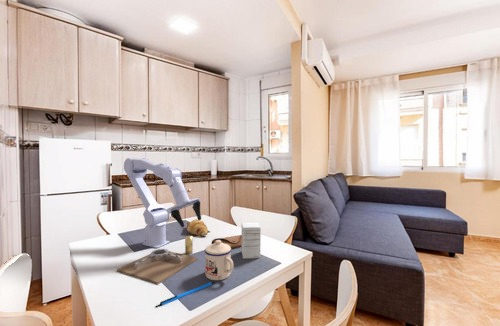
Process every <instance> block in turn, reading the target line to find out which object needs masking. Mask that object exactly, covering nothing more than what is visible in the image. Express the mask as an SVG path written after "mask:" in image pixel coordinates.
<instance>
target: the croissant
mask: <svg viewBox="0 0 500 326" xmlns="http://www.w3.org/2000/svg"><path fill="white" fill-rule="evenodd" d="M186 231H187V232H188V233H190V234H191V235H196V236H201V237H206V236H207V235H208V231H209V229H208V227H207V225H206V224H205V222H204V221H203V220H202V219H201V220H198V218H196V219H193V220H191V221H189V222H187V223H186Z"/></svg>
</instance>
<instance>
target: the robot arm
mask: <svg viewBox="0 0 500 326" xmlns="http://www.w3.org/2000/svg"><path fill="white" fill-rule="evenodd" d="M123 170H124V172H125V174H126V175H127V177H128V178H129V181H130V183H131V185H132V186H133V188H134V190H135V191H136V194H137V196H138V198H139V199H140V201H141V202H142V204H143V207H144V208H145V209H144V211H143V214H142V216H143V218H144V223H145V224H146V226H145V227H144V230H143V243H142V245H143V246H147V247H151V248H155V249H159V248H160V247H162V246H165V245H167V244H170V241H169V240H167V238H166V237H167V235H166V233H167V230H166V229H167V227H166V225H167V224H168V221H169V220H170V216H171V217H172V218H173V219H174V220H175V221H176V222H177V223H178V224H179V225H180V228H184V227H185V222H184V220H183V218H182V215H181V213H180V210H182V209H185V208H188V207H191V206H192V209H193V212H194V213H195V216H196V219H197V220H201V221H202V215H201V202H202V200H201V198H200V197H195V198H192V199H190V198H189V195H188V193H187V190H186V188H185V186H184V183H183V180H182V178H183V173H182V171H181V170H180V169H179V168H172V166H167V165H165V163H162V162H160V163H154V162H153V161H150V160H149V159H148V158H129V157H128V158H126V159H125V161H123ZM147 171H151V172H152V173H153V175H154V176H156V177H159V178H160V179H162V181H164V182H165V184H166V185H167V186H168V187H169V190H170V192H171V194H172V197H173V199H174V202H175V205H173V206H171V207H168V208H166V207H165V206H164V205H162V204H160V203H158V202H157V201H156V199H155V197H154V195H153V193H152V191H151V189H150V188H149V187H148V185H147V184H146V182H145V180H144V177H146V175H147Z"/></svg>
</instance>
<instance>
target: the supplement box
mask: <svg viewBox="0 0 500 326" xmlns="http://www.w3.org/2000/svg"><path fill="white" fill-rule="evenodd" d="M241 235H242V245H241V254H242V259H260V258H261V235H262V234H261V225H260V224H259V222H258V221H257V222H255V221H252V222H241Z"/></svg>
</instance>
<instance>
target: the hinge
mask: <svg viewBox="0 0 500 326" xmlns="http://www.w3.org/2000/svg"><path fill="white" fill-rule="evenodd" d="M169 251H170V250H168V249H166V248H157V249H155V250H152V251H151V252H150V254H151V256H148V257H147V258H145V259H143V260H139V261H138V262H136V263H135V269H138V268H140V267H142V266H144V265H146V264H148V263H150V262H152V261H160V260H164V259H167V260H171V261H174V262H178V263H181V262H182V257H181V256H179V255H173V254H171V253H169Z"/></svg>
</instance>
